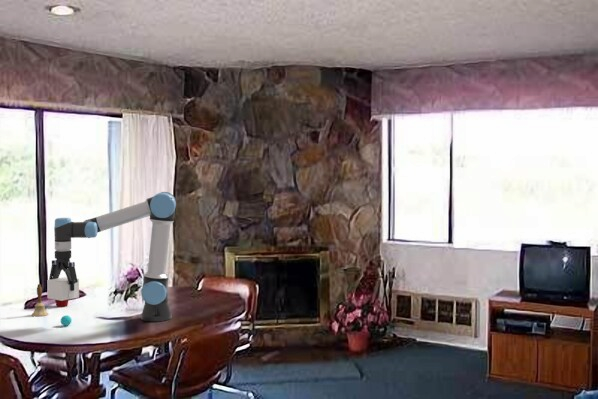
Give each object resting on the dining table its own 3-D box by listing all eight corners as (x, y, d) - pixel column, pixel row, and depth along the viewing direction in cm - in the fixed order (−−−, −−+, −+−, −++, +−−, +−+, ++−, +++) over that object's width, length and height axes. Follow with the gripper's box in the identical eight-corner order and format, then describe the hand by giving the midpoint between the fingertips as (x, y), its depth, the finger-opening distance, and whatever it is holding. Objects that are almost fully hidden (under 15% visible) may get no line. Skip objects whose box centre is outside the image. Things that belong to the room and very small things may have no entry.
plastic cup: (75, 304, 387) (75, 282, 387) (67, 308, 377) (67, 286, 376) (57, 303, 388) (56, 282, 388) (48, 307, 378) (47, 285, 377)
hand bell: (42, 317, 355) (42, 286, 354) (28, 316, 357) (27, 285, 356) (51, 313, 363) (51, 283, 362) (37, 312, 365) (37, 282, 364)
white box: (79, 297, 336) (78, 279, 335) (61, 300, 327) (61, 282, 327) (65, 295, 341) (64, 277, 341) (47, 298, 333) (47, 279, 332)
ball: (63, 323, 332) (69, 328, 335) (68, 314, 334) (75, 319, 338) (56, 321, 335) (63, 326, 338) (62, 312, 337) (69, 317, 341)
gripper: (41, 249, 336) (41, 294, 337) (72, 252, 324) (72, 300, 325) (54, 247, 342) (54, 292, 343) (85, 251, 330) (85, 297, 331)
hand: (63, 296), depth 334 cm, fingers closed on white box, 10 cm apart
